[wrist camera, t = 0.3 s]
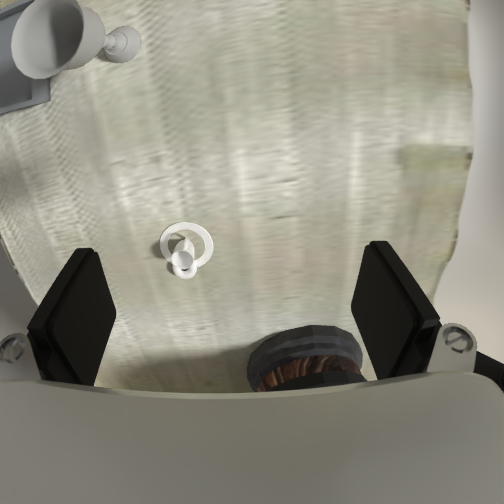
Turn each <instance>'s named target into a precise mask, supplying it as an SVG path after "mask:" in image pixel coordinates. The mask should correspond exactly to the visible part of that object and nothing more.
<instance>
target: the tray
mask: <svg viewBox="0 0 504 504" xmlns="http://www.w3.org/2000/svg"><path fill="white" fill-rule="evenodd" d="M34 1H35V0H19V1H17V2H15V3H13V4H10V5H8V6H6V7H4V8H2V9H0V114H1V113H5V112H8V111H12V110H16V109H20V108H23V107H27V106H31V105H36V104H39V103H43V102H46V101H50V77H48V78H45V79H33V78H31V77H29V76H26V75H24V74H23V73H22V72H21V71H20V70H19V69H18V68H17V66H16V64H15V62H14V59H13V56H12V49H11V43H12V35H13V31H14V28H15V26H16V23H17V21H18V19H19V18H20V16H21V15H22V13H23V12H24V10H25V9H26V8H27V7H28V6H29V5H30V4H32V3H33V2H34Z"/></svg>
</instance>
